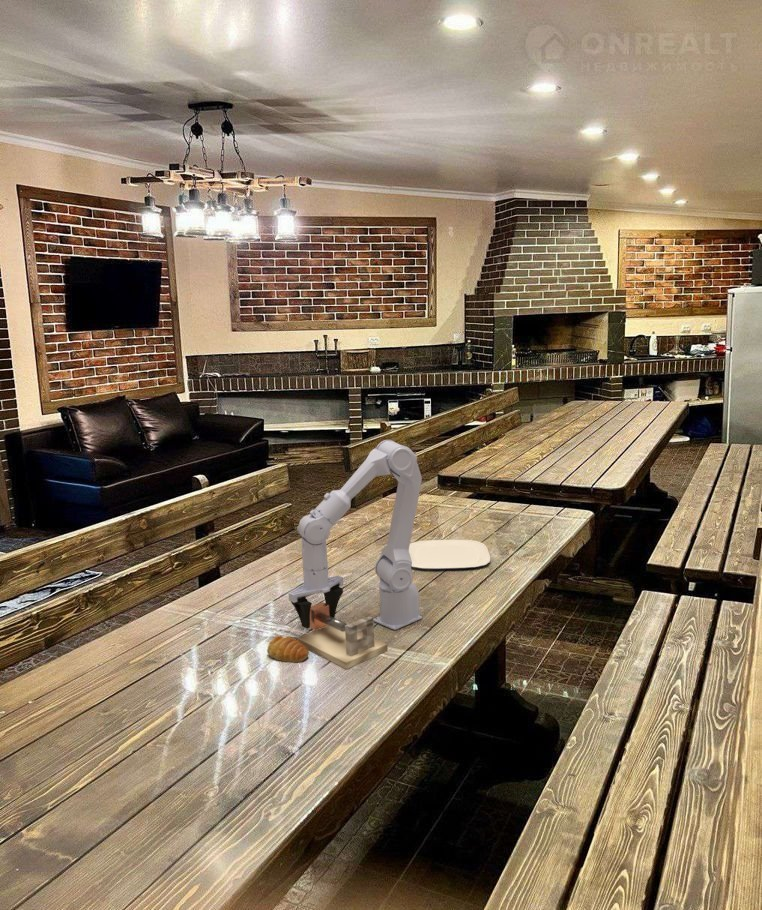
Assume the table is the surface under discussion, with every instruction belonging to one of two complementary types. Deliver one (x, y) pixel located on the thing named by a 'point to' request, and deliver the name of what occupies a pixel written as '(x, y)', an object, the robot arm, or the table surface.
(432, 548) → the plate
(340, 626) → the bolt
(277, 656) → the pastry
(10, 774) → the table surface
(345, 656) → the latch board
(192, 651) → the table surface
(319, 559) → the robot arm
